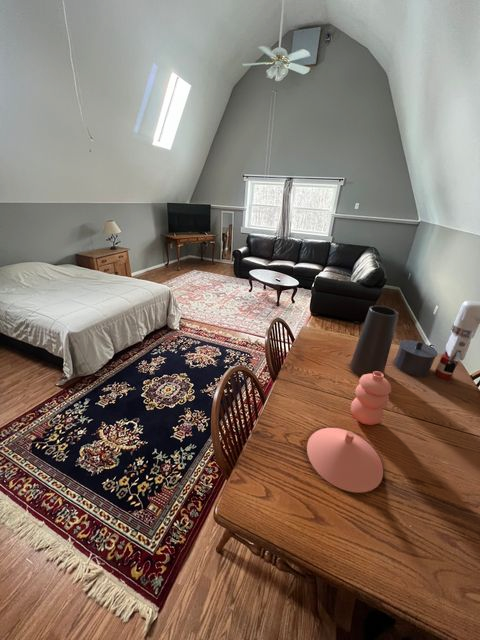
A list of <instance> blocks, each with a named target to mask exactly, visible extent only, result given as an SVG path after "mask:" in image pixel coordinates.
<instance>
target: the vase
mask: <svg viewBox="0 0 480 640" xmlns="http://www.w3.org/2000/svg"><path fill="white" fill-rule="evenodd" d="M399 315H400V313H399V312H398V311H397V310H396V309H394V308H391V307H388V306H385V305H371V306H370V307H369V308H368V311H367V314H366V317H365V320H364V322H363V326H362V328H361V330H360V335H359V337H358V340H357V343H356V346H355V349H354V352H353V355H352V358H351V361H350V364H349V369H350V371H351V372H352V373H353V374H354V375H356V376H358V377H360V378H361V377H362V376H363V375H365V374H373V372H374V371H378V372H381V373H383V375H384V374H385V370H386V366H387V363H388V358H389V354H390V350H391V347H392V342H393V338H394V336H395V331H396V327H397V324H398V319H399Z"/></svg>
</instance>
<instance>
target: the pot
mask: <svg viewBox="0 0 480 640" xmlns="http://www.w3.org/2000/svg"><path fill="white" fill-rule="evenodd" d="M435 359H436V357H435V358H422V357H418V356H414V355H412V354H409V353H407V352H406V351H404V350H403V349H401V347H400V346H399V347H398V350H397V352H396V356H395V359H394V362H393V363H394V366H395V367H396V368H397V369H399V370H400V371H402V372H404V373H406V374H408V375H412V376H416V377H425V376H428V374H429V373H430V370H431V368H432V367H433V364H434V361H435Z"/></svg>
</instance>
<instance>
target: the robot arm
mask: <svg viewBox="0 0 480 640" xmlns="http://www.w3.org/2000/svg"><path fill="white" fill-rule="evenodd" d="M479 326H480V301H478V300H465V301H463V302H462V304H461V306H460V308H459V311H458V313H457V315H456V318H455V319H454V322H453V324H452V326H451V329H450V333H451V334H450V336H449V338H448V340H447V342H446V344H445V351H444V354H448V356H449V357H450V358H449V361H448V363H447V364H446V366H445V368H444V371H445V372H449V373H453V372H454V370H455V367H456V366H457V367H458V365H459V363H460V361H464V360H465V358H466V356H467V353H468V351H469V350H468V349H469V347H470V344H471V341H472V339H473V338H474V336H475V335H476V333H477V331H478V329H479ZM452 356H455V358H454V357H452ZM452 359H454V361H453V360H452ZM451 360H452V361H451ZM459 360H460V361H459ZM457 364H458V365H457ZM455 371H456V370H455ZM454 373H455V372H454Z"/></svg>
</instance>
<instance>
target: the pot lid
mask: <svg viewBox="0 0 480 640" xmlns="http://www.w3.org/2000/svg"><path fill="white" fill-rule="evenodd" d="M398 346H399V347H401V349H403V350H404V351H406V352H407V353H409V354H412V355H414V356H418V357H422V358H435V359H436V357H438V354H439V353H438V351H437V350H436V349H435V348H434V347H433V346H431V345H429V344H427V343H425V341H423V340H411V339H403V340H401V341H400V342H399V343H398Z"/></svg>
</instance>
